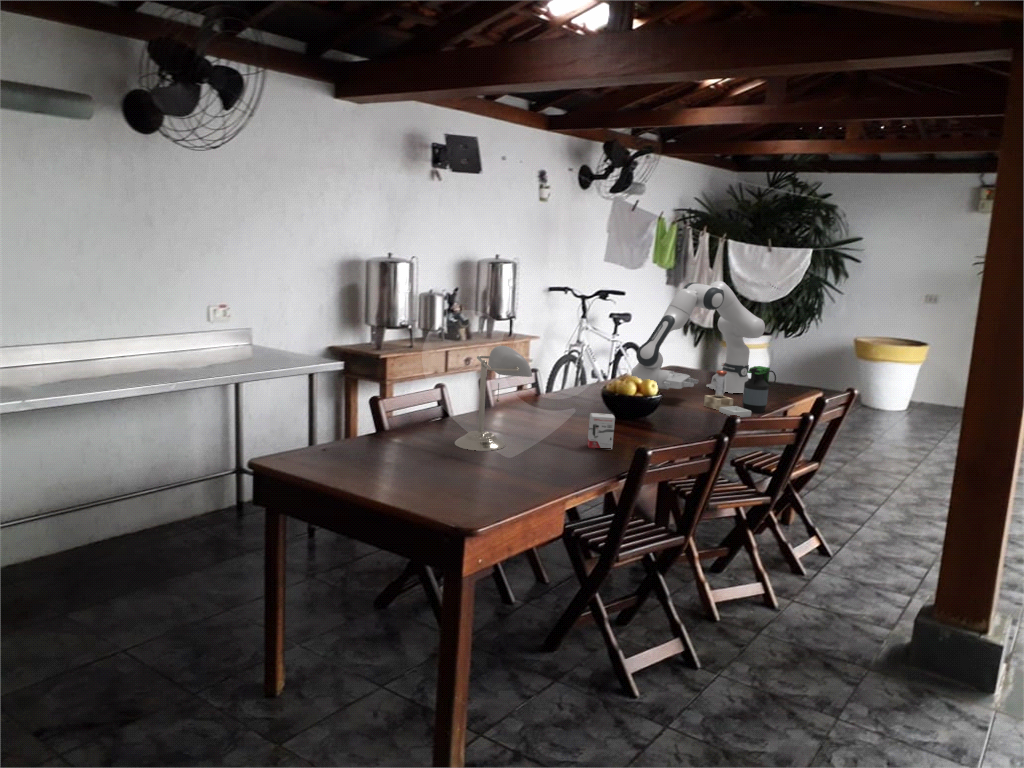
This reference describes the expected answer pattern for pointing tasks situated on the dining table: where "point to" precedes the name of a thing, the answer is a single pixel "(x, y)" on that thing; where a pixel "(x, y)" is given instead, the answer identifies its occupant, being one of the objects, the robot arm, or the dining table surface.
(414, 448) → the dining table surface
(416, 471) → the dining table surface
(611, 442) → the ink box
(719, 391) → the pin
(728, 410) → the tray
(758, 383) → the grenade
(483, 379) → the lamp
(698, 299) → the robot arm
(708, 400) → the block
